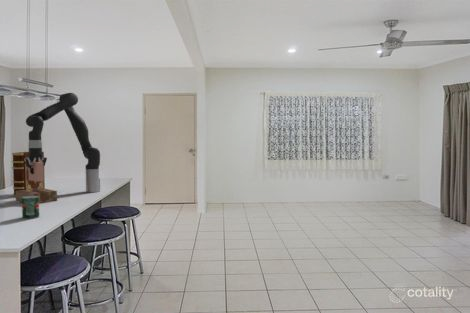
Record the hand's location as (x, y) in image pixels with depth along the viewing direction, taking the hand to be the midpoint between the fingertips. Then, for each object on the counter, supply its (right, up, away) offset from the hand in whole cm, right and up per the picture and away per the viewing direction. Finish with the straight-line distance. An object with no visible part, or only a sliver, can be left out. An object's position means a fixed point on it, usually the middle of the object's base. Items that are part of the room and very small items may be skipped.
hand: (35, 173), depth 230 cm
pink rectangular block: (0, -5, 0) cm, 5 cm away
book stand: (0, -18, +1) cm, 18 cm away
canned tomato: (+20, -21, -41) cm, 51 cm away
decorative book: (-19, -16, +24) cm, 34 cm away
